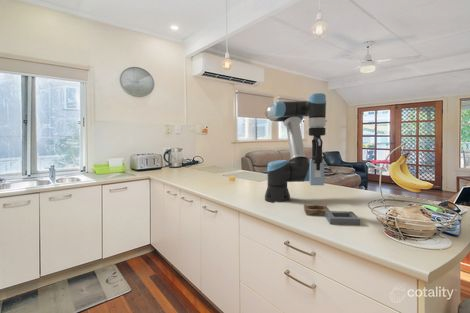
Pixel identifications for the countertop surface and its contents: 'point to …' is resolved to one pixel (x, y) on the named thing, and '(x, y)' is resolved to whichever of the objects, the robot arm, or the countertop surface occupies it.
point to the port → (342, 218)
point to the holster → (315, 210)
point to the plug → (313, 179)
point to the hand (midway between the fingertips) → (316, 176)
